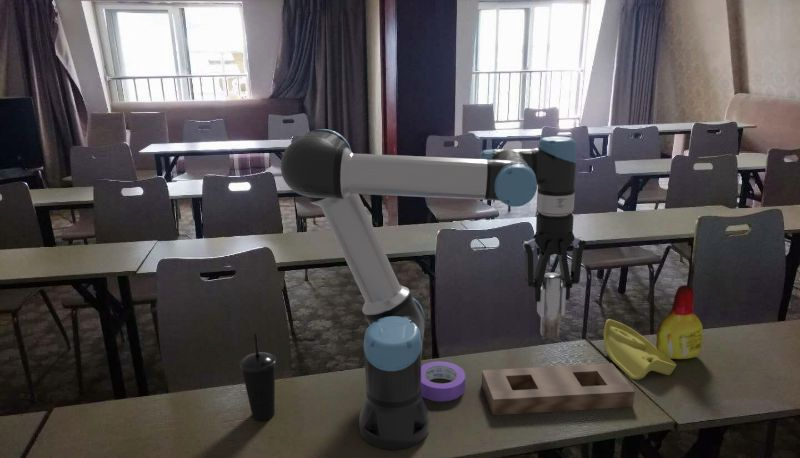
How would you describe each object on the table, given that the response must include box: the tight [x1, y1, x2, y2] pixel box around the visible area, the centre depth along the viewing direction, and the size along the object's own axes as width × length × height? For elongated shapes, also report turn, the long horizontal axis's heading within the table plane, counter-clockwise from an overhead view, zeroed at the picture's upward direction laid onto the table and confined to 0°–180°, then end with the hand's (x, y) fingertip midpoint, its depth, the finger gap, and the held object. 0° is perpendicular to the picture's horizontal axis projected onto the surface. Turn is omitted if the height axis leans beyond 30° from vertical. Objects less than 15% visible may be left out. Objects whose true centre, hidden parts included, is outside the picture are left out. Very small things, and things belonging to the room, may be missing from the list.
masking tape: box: [421, 360, 466, 402], centre depth 137 cm, size 12×12×4 cm
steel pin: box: [540, 272, 562, 339], centre depth 126 cm, size 4×4×14 cm
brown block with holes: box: [481, 362, 636, 416], centre depth 132 cm, size 32×12×4 cm, turn 94°
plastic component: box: [603, 318, 677, 380], centre depth 147 cm, size 20×7×10 cm
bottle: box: [655, 284, 704, 360], centre depth 146 cm, size 12×6×20 cm, turn 95°
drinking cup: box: [239, 333, 277, 422], centre depth 125 cm, size 8×8×20 cm
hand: (550, 313), depth 126 cm, fingers closed on steel pin, 4 cm apart
